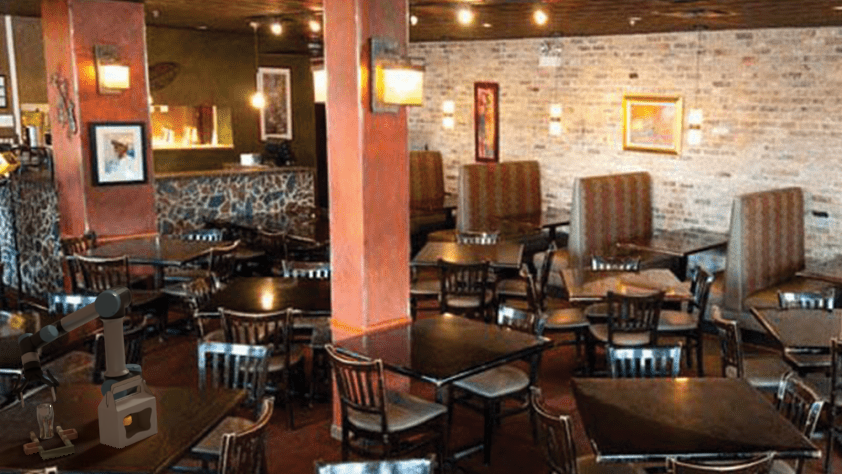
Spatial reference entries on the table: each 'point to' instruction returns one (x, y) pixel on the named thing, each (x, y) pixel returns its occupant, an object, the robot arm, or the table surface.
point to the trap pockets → (70, 433)
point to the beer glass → (45, 420)
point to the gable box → (134, 404)
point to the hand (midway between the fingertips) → (39, 403)
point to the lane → (58, 451)
